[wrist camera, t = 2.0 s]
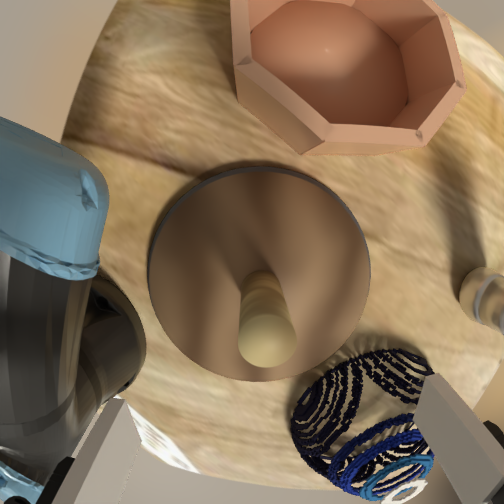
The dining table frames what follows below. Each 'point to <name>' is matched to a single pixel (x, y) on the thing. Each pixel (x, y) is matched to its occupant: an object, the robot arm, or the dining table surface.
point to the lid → (259, 276)
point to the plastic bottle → (484, 297)
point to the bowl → (346, 72)
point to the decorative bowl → (367, 457)
